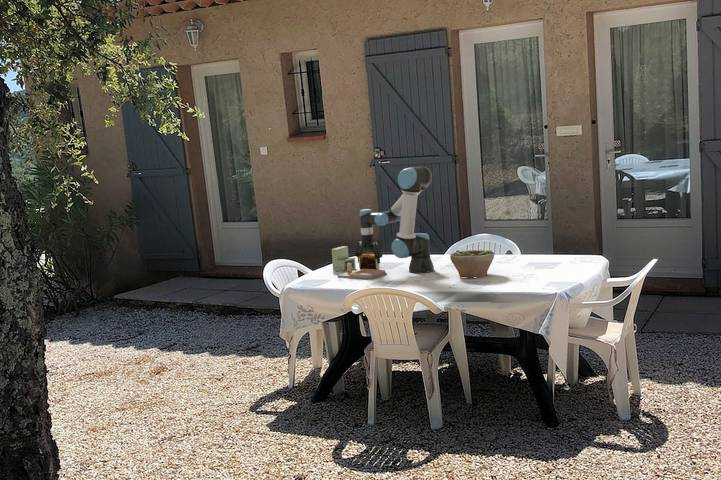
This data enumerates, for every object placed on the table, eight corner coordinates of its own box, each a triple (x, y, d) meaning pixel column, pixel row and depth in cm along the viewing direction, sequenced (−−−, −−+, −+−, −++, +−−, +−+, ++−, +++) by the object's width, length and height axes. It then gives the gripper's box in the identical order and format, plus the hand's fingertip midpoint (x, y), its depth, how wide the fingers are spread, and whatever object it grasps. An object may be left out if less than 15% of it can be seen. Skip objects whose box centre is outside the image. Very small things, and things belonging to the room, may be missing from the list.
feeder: (356, 268, 500) (354, 246, 498) (344, 271, 490) (343, 249, 488) (344, 267, 505) (342, 246, 503) (333, 271, 496) (331, 249, 494)
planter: (446, 280, 444) (445, 254, 442) (456, 271, 467) (455, 246, 465) (491, 280, 435) (490, 253, 433) (499, 271, 458) (498, 246, 456)
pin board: (386, 274, 472) (385, 262, 471) (371, 279, 459) (370, 267, 458) (353, 272, 487) (352, 260, 486) (337, 277, 474) (336, 265, 473)
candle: (375, 271, 483) (374, 256, 482) (359, 272, 485) (358, 256, 484) (378, 268, 493) (377, 253, 492) (363, 269, 495) (362, 253, 494)
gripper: (386, 233, 482) (388, 267, 485) (354, 232, 496) (356, 266, 499) (380, 235, 476) (382, 270, 479) (347, 234, 490) (350, 268, 493)
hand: (369, 268), depth 489 cm, fingers closed on candle, 12 cm apart
